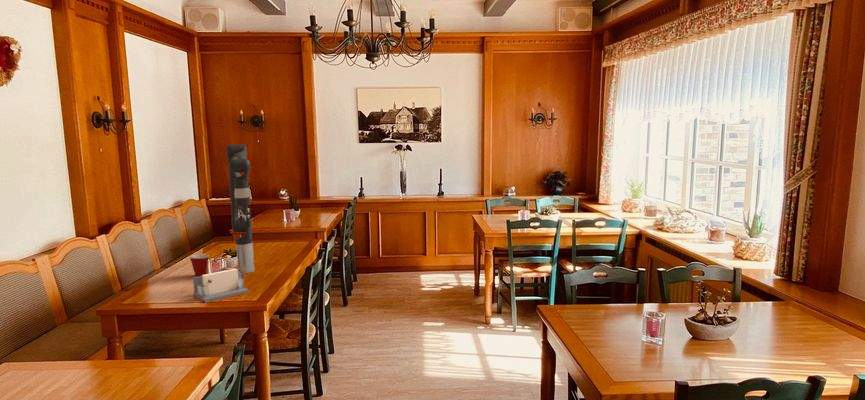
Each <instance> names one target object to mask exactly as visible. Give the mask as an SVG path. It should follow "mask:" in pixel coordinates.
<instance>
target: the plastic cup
mask: <svg viewBox="0 0 865 400" xmlns="http://www.w3.org/2000/svg"><path fill="white" fill-rule="evenodd" d="M210 256H211V255H210V254H193V255H189V257H188V258H189V259H190V261H191V265H192V269H193V272H194V275H195V277H199V276H202V275H205V274H208V273H207V271H208V264H209V258H210Z"/></svg>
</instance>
